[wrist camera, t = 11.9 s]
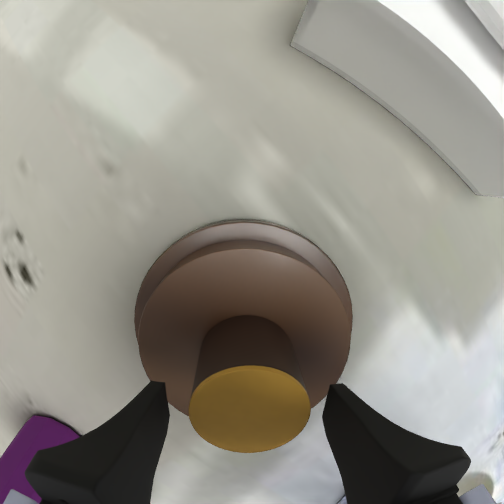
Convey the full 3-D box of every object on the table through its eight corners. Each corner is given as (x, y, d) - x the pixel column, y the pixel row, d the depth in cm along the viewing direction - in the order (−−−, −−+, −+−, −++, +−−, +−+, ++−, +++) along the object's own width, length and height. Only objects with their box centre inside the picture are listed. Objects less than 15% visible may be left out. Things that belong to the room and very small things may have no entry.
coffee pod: (291, 386, 16) (307, 446, 12) (207, 392, 16) (199, 454, 11) (291, 310, 15) (313, 363, 10) (194, 317, 15) (178, 372, 10)
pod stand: (307, 416, 21) (316, 447, 18) (132, 382, 20) (118, 412, 16) (374, 250, 19) (400, 264, 15) (158, 195, 17) (140, 198, 14)
